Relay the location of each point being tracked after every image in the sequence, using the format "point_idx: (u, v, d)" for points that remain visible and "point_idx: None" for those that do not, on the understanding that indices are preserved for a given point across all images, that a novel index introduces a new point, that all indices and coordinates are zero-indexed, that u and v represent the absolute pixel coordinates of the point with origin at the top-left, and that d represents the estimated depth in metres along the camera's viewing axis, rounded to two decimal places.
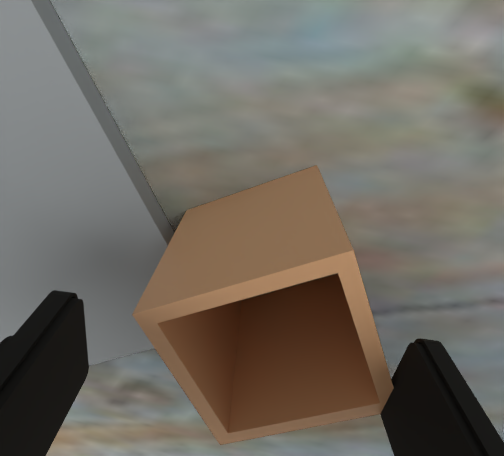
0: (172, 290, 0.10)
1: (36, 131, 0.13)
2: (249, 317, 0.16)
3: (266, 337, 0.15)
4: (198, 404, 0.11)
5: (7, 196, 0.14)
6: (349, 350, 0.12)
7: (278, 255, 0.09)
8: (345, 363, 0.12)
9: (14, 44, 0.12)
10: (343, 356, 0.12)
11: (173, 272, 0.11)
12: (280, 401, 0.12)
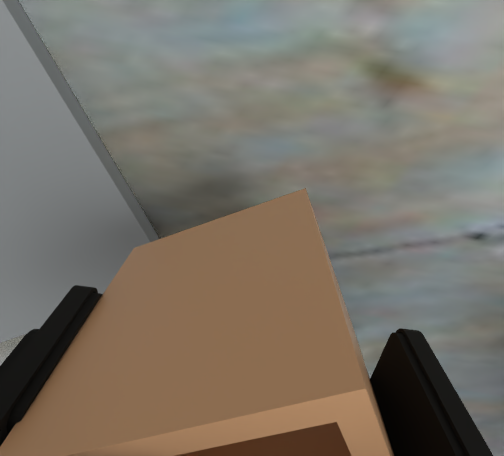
0: (58, 424, 0.06)
1: (5, 104, 0.15)
2: None
3: None
4: None
5: None
6: None
7: (232, 372, 0.05)
8: None
9: None
10: None
11: (75, 376, 0.07)
12: None
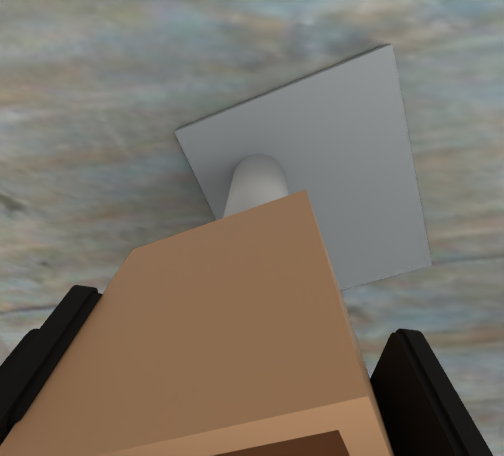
0: (54, 430, 0.06)
1: (368, 137, 0.22)
2: None
3: None
4: None
5: (333, 176, 0.23)
6: None
7: (232, 377, 0.05)
8: None
9: (377, 90, 0.21)
10: None
11: (72, 381, 0.07)
12: None
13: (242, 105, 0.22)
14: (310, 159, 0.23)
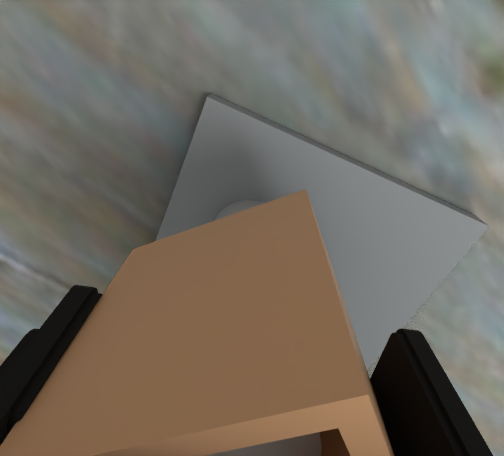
0: (55, 429, 0.06)
1: (387, 285, 0.18)
2: None
3: None
4: None
5: None
6: None
7: (232, 376, 0.05)
8: None
9: (437, 252, 0.17)
10: None
11: (73, 380, 0.07)
12: None
13: (312, 146, 0.14)
14: None
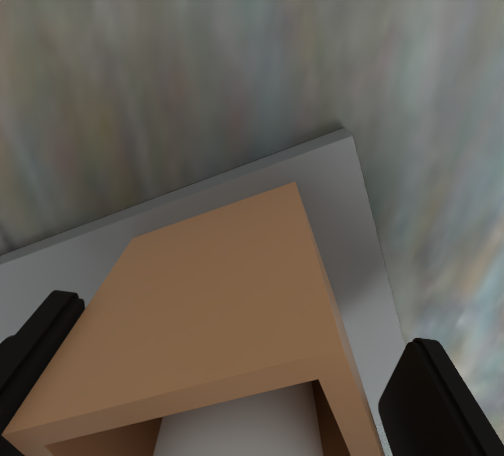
0: (69, 390, 0.06)
1: None
2: None
3: None
4: None
5: None
6: (339, 433, 0.09)
7: (227, 340, 0.06)
8: (334, 455, 0.09)
9: (371, 408, 0.16)
10: (332, 443, 0.09)
11: (83, 351, 0.07)
12: None
13: (381, 260, 0.12)
14: None
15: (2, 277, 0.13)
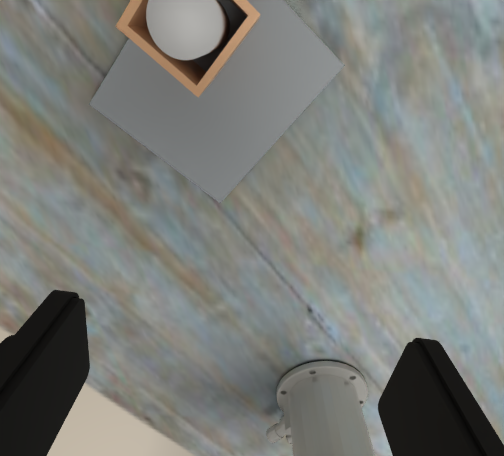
0: None
1: (281, 92, 0.28)
2: None
3: None
4: (172, 71, 0.21)
5: (242, 86, 0.28)
6: None
7: None
8: None
9: (313, 75, 0.28)
10: None
11: None
12: None
13: None
14: (244, 59, 0.27)
15: (108, 84, 0.28)
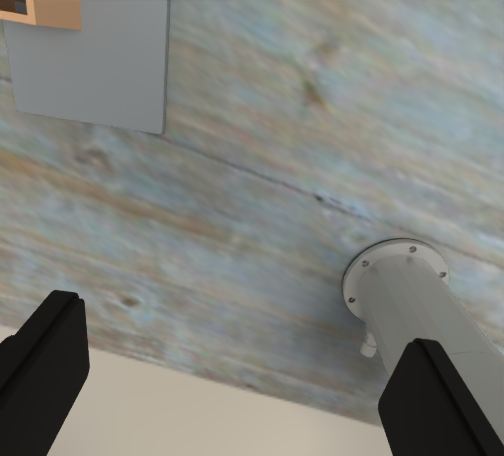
0: None
1: None
2: None
3: None
4: (3, 16, 0.24)
5: (105, 13, 0.29)
6: None
7: None
8: None
9: None
10: None
11: None
12: None
13: None
14: None
15: (17, 84, 0.32)
